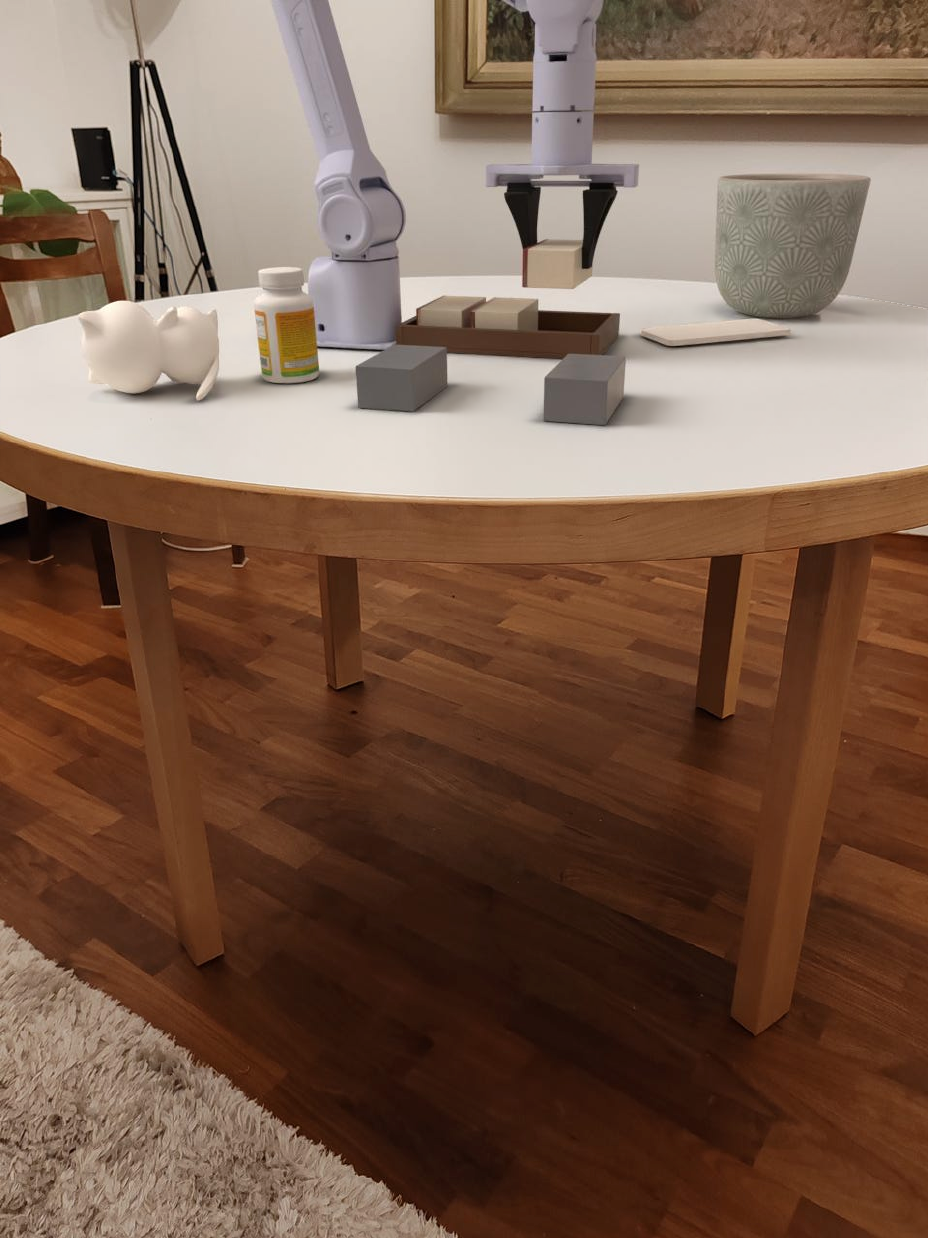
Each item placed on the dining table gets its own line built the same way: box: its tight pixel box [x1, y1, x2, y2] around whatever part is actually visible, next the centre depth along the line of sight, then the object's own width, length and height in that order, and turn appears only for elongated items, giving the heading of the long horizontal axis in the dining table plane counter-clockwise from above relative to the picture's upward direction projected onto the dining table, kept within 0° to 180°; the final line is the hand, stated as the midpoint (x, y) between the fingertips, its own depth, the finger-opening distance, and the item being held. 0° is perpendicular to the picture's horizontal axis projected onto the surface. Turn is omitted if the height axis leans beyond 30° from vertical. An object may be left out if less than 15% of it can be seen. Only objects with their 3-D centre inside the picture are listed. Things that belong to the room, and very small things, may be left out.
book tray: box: [396, 309, 621, 360], centre depth 102 cm, size 22×13×2 cm, turn 73°
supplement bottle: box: [253, 266, 320, 384], centre depth 88 cm, size 5×5×10 cm
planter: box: [714, 173, 872, 319], centre depth 114 cm, size 17×17×15 cm
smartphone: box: [640, 318, 791, 347], centre depth 104 cm, size 7×1×15 cm
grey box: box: [542, 354, 627, 426], centre depth 78 cm, size 5×9×4 cm, turn 163°
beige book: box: [415, 295, 487, 328], centre depth 104 cm, size 5×9×4 cm, turn 163°
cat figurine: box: [78, 300, 220, 401], centre depth 84 cm, size 9×11×12 cm
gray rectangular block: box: [355, 345, 448, 413], centre depth 82 cm, size 5×9×4 cm, turn 163°
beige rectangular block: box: [521, 238, 593, 290], centre depth 94 cm, size 5×9×4 cm, turn 162°
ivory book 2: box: [470, 296, 539, 331], centre depth 102 cm, size 5×9×4 cm, turn 163°
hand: (558, 266), depth 94 cm, fingers closed on beige rectangular block, 5 cm apart
